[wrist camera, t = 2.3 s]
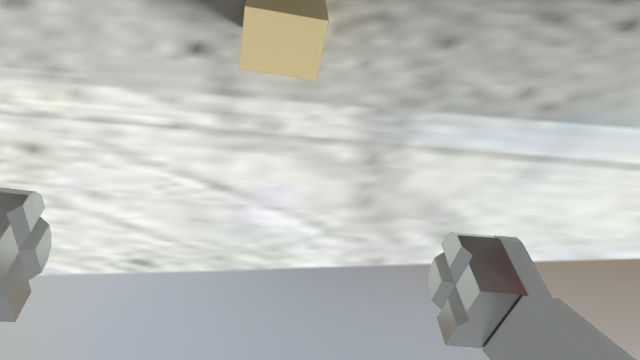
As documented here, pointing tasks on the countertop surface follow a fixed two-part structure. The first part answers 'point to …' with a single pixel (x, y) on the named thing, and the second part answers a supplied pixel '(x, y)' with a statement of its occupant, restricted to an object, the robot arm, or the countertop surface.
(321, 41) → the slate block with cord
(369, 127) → the countertop surface
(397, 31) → the countertop surface
